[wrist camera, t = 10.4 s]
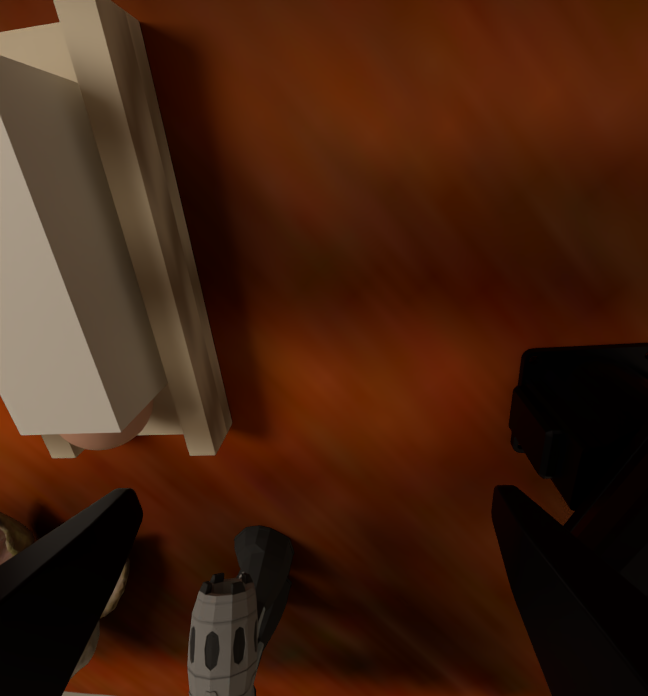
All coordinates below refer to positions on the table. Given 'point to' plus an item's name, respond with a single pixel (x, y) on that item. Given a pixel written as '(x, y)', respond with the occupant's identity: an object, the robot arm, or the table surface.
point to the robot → (239, 615)
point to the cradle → (138, 207)
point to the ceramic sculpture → (12, 537)
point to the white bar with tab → (66, 275)
